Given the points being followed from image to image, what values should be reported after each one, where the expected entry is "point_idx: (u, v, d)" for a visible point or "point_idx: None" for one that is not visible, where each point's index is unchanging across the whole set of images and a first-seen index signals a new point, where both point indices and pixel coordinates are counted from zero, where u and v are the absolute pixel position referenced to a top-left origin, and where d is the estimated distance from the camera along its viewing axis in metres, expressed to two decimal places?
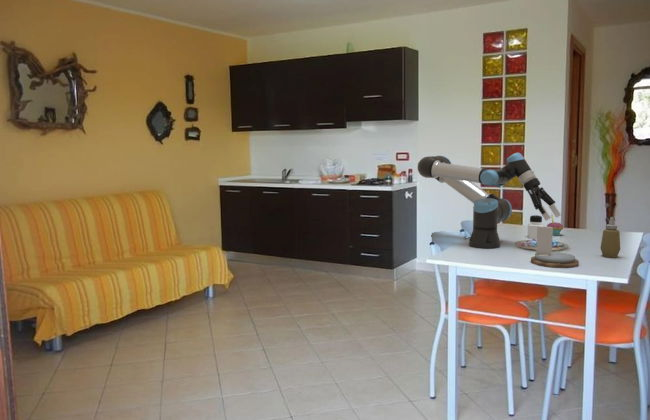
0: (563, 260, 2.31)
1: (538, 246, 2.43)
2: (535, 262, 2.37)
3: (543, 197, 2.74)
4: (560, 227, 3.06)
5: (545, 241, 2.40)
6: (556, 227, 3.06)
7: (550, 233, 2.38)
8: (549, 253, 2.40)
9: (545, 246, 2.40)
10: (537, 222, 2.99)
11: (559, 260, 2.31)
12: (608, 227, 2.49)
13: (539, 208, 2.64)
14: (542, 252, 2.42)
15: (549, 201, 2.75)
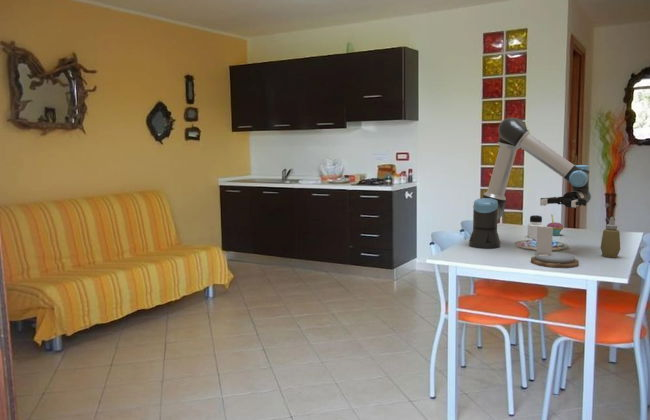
0: (563, 260, 2.31)
1: (538, 246, 2.43)
2: (535, 262, 2.37)
3: (557, 200, 2.57)
4: (560, 227, 3.06)
5: (545, 241, 2.40)
6: (556, 227, 3.06)
7: (550, 233, 2.38)
8: (549, 253, 2.40)
9: (545, 246, 2.40)
10: (537, 222, 2.99)
11: (559, 260, 2.31)
12: (608, 227, 2.49)
13: (580, 202, 2.45)
14: (542, 252, 2.42)
15: (550, 202, 2.57)
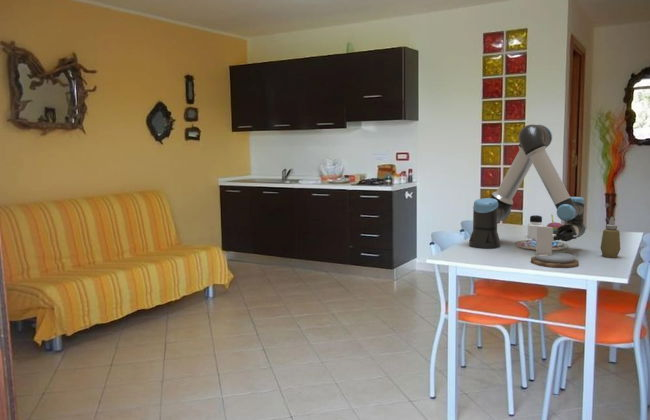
0: (563, 260, 2.31)
1: (538, 246, 2.42)
2: (535, 262, 2.37)
3: None
4: None
5: (545, 241, 2.40)
6: (556, 227, 3.06)
7: (550, 233, 2.38)
8: (549, 253, 2.40)
9: (545, 246, 2.40)
10: (537, 222, 2.99)
11: (560, 260, 2.31)
12: (608, 227, 2.49)
13: (558, 237, 2.44)
14: (542, 252, 2.41)
15: None
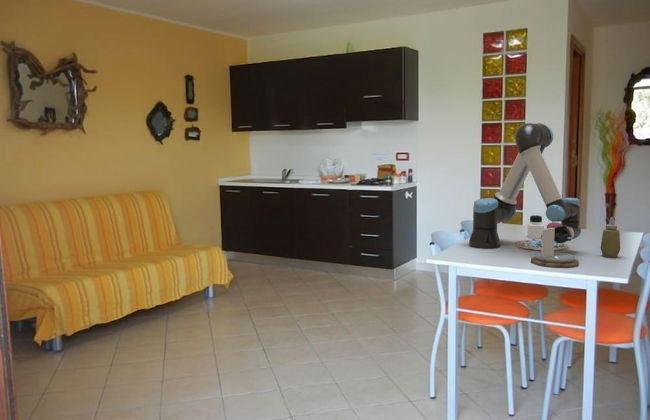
0: (574, 257, 2.37)
1: (545, 250, 2.35)
2: (535, 262, 2.37)
3: None
4: None
5: (550, 243, 2.36)
6: None
7: (553, 234, 2.36)
8: (552, 254, 2.37)
9: (550, 248, 2.36)
10: (537, 222, 2.99)
11: None
12: (608, 227, 2.49)
13: None
14: (548, 255, 2.36)
15: None
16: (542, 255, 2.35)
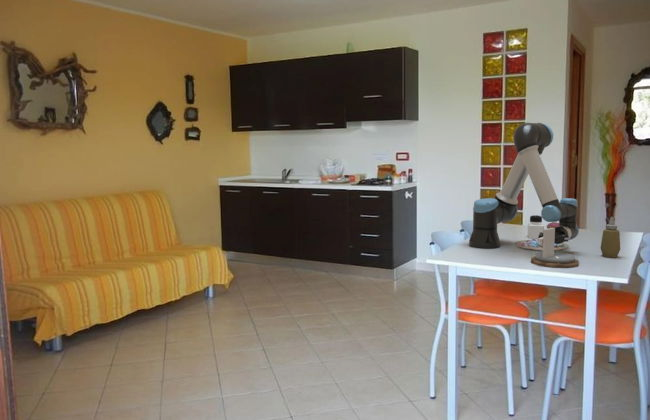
0: (574, 257, 2.37)
1: (546, 250, 2.34)
2: (535, 262, 2.37)
3: None
4: None
5: (550, 243, 2.35)
6: None
7: (554, 234, 2.36)
8: (553, 254, 2.37)
9: (550, 248, 2.36)
10: (537, 222, 2.99)
11: None
12: (608, 227, 2.49)
13: None
14: (548, 255, 2.35)
15: None
16: (543, 255, 2.35)
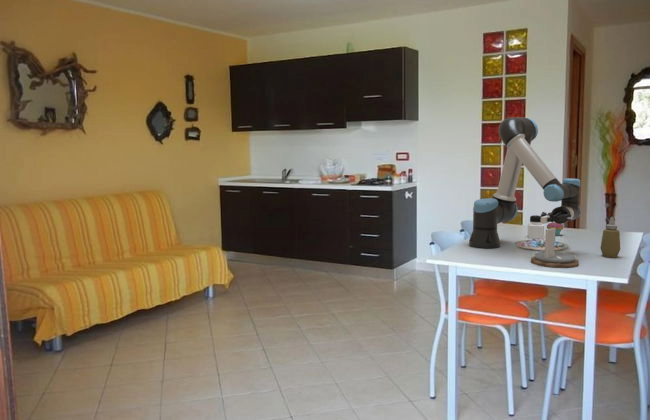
0: None
1: (548, 250, 2.33)
2: (535, 262, 2.37)
3: None
4: (560, 227, 3.06)
5: (552, 243, 2.35)
6: (556, 227, 3.06)
7: (554, 234, 2.36)
8: (553, 254, 2.37)
9: (552, 248, 2.35)
10: (537, 222, 2.99)
11: (574, 257, 2.37)
12: (608, 227, 2.49)
13: (552, 218, 2.37)
14: (550, 255, 2.35)
15: None
16: (545, 256, 2.34)
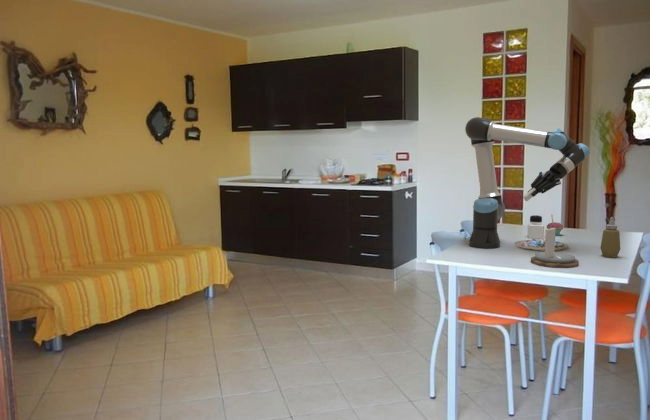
0: None
1: (548, 250, 2.33)
2: (535, 262, 2.37)
3: (544, 181, 2.66)
4: (560, 227, 3.06)
5: (552, 243, 2.35)
6: (556, 227, 3.06)
7: (554, 234, 2.36)
8: (553, 254, 2.37)
9: (552, 248, 2.35)
10: (537, 222, 2.99)
11: (574, 257, 2.37)
12: (608, 227, 2.49)
13: (537, 191, 2.62)
14: (550, 255, 2.35)
15: (538, 187, 2.65)
16: (545, 256, 2.34)
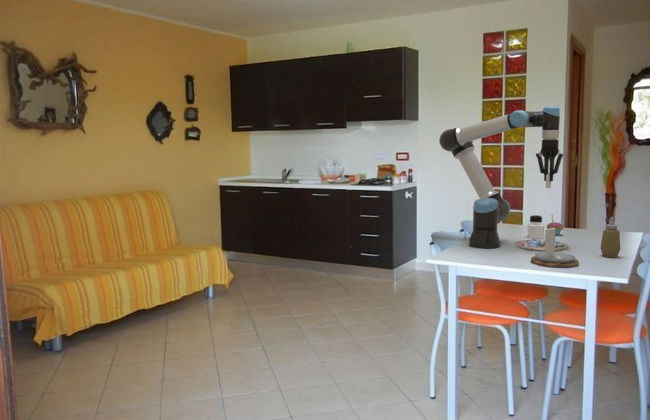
0: None
1: (548, 250, 2.33)
2: (535, 262, 2.37)
3: (547, 161, 2.69)
4: (560, 227, 3.06)
5: (552, 243, 2.35)
6: (556, 227, 3.06)
7: (554, 234, 2.36)
8: (553, 254, 2.37)
9: (552, 248, 2.35)
10: (537, 222, 2.99)
11: (574, 257, 2.37)
12: (608, 227, 2.49)
13: (552, 175, 2.68)
14: (550, 255, 2.35)
15: (547, 168, 2.70)
16: (545, 256, 2.34)
